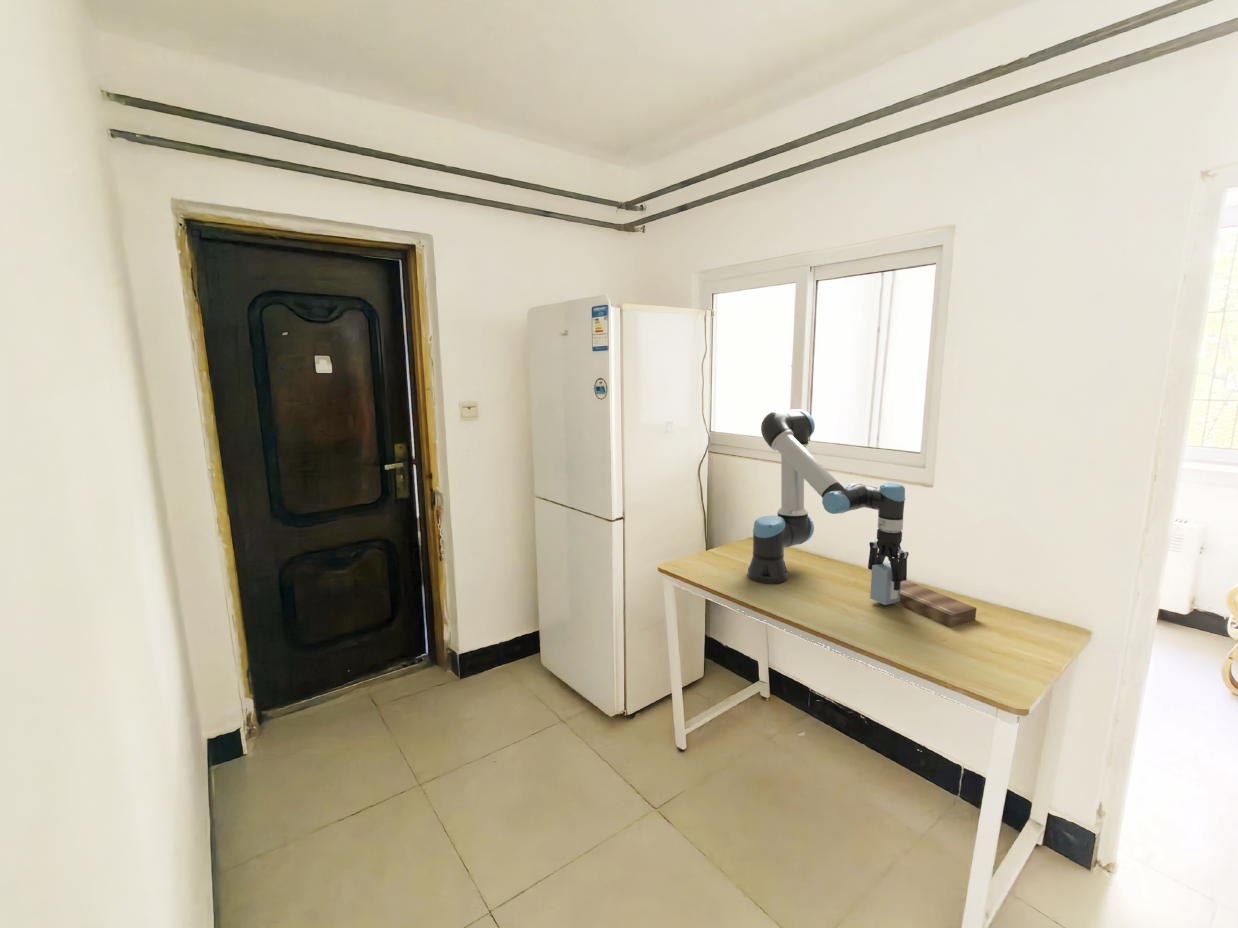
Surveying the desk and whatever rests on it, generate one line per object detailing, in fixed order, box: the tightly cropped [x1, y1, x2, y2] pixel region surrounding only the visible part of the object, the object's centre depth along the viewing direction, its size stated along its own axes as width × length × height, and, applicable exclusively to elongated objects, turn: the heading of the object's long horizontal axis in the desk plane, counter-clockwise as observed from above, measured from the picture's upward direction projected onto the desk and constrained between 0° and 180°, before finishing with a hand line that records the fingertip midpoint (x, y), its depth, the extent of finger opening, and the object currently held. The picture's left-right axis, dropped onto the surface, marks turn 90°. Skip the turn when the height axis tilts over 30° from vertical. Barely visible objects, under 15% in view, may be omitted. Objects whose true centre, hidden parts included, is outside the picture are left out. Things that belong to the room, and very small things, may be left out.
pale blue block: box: [869, 561, 901, 606], centre depth 182 cm, size 6×11×12 cm, turn 113°
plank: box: [895, 580, 977, 628], centre depth 181 cm, size 30×12×4 cm, turn 23°
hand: (885, 594), depth 182 cm, fingers closed on pale blue block, 6 cm apart
